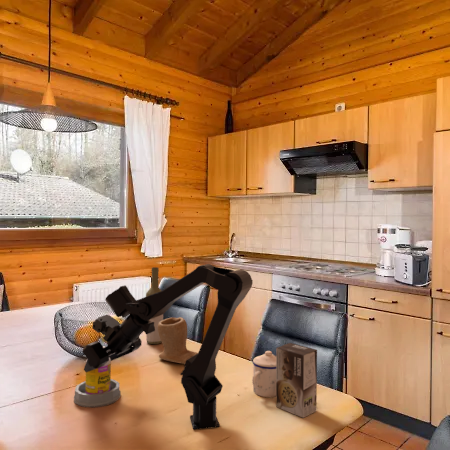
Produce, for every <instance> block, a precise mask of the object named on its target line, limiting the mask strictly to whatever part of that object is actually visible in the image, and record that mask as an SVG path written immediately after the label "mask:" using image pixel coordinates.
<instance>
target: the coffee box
mask: <svg viewBox="0 0 450 450" xmlns="http://www.w3.org/2000/svg"><path fill="white" fill-rule="evenodd" d="M275 353H276V354H275V356H276V398H275V402H276V403H275V406H276V408H279V409H281V410H283V411H284V412H288V413H291V414H293V415H295V416H298V417H300V418H306V417H307V416H309V415H312V414H313V413H316V412H317V399H318V398H317V393H318V392H317V386H318V385H317V384H318V383H317V382H318V378H317V377H318V349H315V348H312V347H307V346H303V345H300V344H296V343H292V342H289V343H285V344H283V345H280V346H278V347H276V352H275Z"/></svg>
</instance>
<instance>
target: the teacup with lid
mask: <svg viewBox="0 0 450 450" xmlns="http://www.w3.org/2000/svg"><path fill="white" fill-rule="evenodd" d="M252 365H253V367H252V368H253V374H252V379H251V381H252V382H251V383H252V390H253V393H254V394H256V395H257V396H259V397H262V398H275V397H276V354H273V352H272V351H270V350H266V351H265V352H264V353H263V354H262V355H258V356H256V357H254V358H253V360H252Z"/></svg>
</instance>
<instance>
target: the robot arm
mask: <svg viewBox="0 0 450 450" xmlns="http://www.w3.org/2000/svg"><path fill="white" fill-rule="evenodd" d="M203 284H206V285H208V286H209V287H211V288H212V289H215V290H217V292H216V294H217V296H216V297H217V306H216V307H215V309H214V312H213V315H212V317H211V320H210V323H209V325H208V328H207V330H206V332H205V335H204V338H203V340H202V342H201V345H200V348H199V350H198V352H196V353H197V354H196V355H194V356H192V357H191V358H189V359H188V360H186V362H185V364H184V367H183V370H182V371H181V373H180V374H179V375H180V376H181V378H180V379H181V380H180V384H181V386H182V388H183V389H184V392H185V393H184V394H185V395H186V399H187V402H188V403H189V404H192V414H191V415H189V419H190V424H191V427H192V429H193V430H194V431H195V430H205V429H215V428H216V429H217V428H221V427H220V426H221V425H220V422H219V420H218V419H219V418H218V417H217V395H220V394H221V393H222V389H223V386H224V385H223V384H222V383H221V382H220V380H219V379H218V378H217V376H216V375H215V374H216V369H217V366H216V365H217V364H216V360H217V357H218V354H219V351H220V348H221V346H222V345H223V341H224V338H225V336H226V334H227V332H228V329H229V326H230V324H231V322H232V320H233V318H234V317H233V316H234V314H235V312H236V309H237V308H238V307H239V305H240V304H241V303H242V301H243V300H244V299H245V298H246V296H247V295H248V293H249V292H250V290H251V289H252V288H253V287H252V286H253V279H252V276H251V274H250V273H249V272H248V271H247V270H245V269H236V270H233V269H229V268H225V267H219V266H216V265H213V264H211V263H210V264H209V263H207V264H206V263H205V264H201V265H198V266H197V267H196V268H195V269H194V270H192V271H191V272H189V273H187V274H186V275H184V276H183V277H181V278H180V279H178V280H176V281H175V282H174V283H172V284H171V285H168V287H165V289H163V290H161V291H160V292H158V293H155V294H152V295H149V296H147V297H146V296H144V297H141V298H140V299H136V298H135V297H134V295H133V294H132V293H131V291H130V290H129V288H128V286H127V285H122V286H119V288H117V289H115V290H114V291H112V292H111V293H110V294H107V296H106V297H105V299H104V300H105V302H106V303H107V305H108V306H109V307H110V309H111V310H112V311H113V313H114V315H115V316H116V317H117V318H120V317H122V319H124V318H125V319H124V320H123V321H122V322H121V323H120V321H118V320H117V319H116V318H114V317H113V316H111V314H110V315H109V314H105V315H102V316H98V317H97V318H95V320H94V321H92V327H91V329H93V331H95V332H96V333H97V334H99V333H100V334H102V335H103V337H102V339H103V340H104V342H106V345H107V346H105V347H104V348H103V346H104V345H102V343H101V342H100V341H97V340H96V341H94V342H93V341H92V342H91V343H89V344H86V345H85V346H84V347H83V348H82V353H83V355H84V356H85V358H86V360H87V362H86V361H85V364H84V367H83V371H84V372H85V373H86V372H89V371H91V370H94V369H97V368H100V367H102V366H104V364H106V363H107V362H108V361H109V358H110V359H111V361H115V360H117V359H119V358H121V357H125V356H127V355H129V354H131V353H134V351H137V350H138V349H140V347H141V346H142V339H141V338H140V336H141V335H142V334H143V333H145V335H146V334H149V333H151V332H154V331H155V326H154V322H151V321H150V319H152V318H155V317H158V316H160V315H163V316H164V314H165V313H166V312H168V310H170V309H171V307H172V306H173V304H174V303H175V302H176V301H178V300H180V299H181V298H183V297H184V296H186V295H187V294H189V293H191V292H192V291H193V290H194V291H195V289H197V288H198V287H200V286H202V285H203Z"/></svg>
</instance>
